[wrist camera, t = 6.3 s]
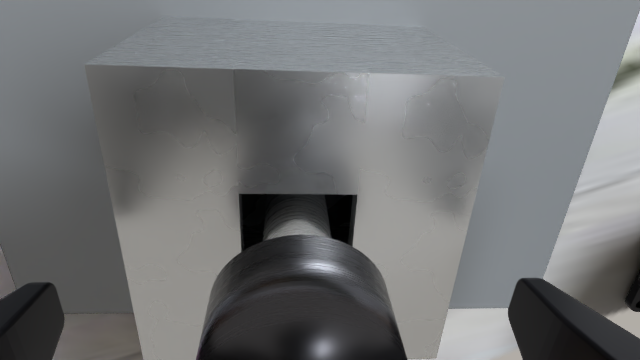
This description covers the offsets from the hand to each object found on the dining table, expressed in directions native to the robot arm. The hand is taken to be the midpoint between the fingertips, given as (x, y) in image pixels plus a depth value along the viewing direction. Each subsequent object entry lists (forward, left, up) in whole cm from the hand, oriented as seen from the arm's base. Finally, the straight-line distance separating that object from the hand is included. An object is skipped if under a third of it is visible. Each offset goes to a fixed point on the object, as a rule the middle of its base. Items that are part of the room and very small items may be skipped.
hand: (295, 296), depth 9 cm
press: (0, 0, -8) cm, 8 cm away
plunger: (0, 0, -6) cm, 6 cm away
